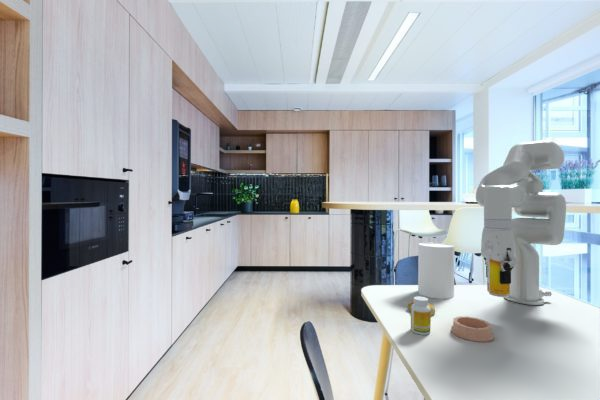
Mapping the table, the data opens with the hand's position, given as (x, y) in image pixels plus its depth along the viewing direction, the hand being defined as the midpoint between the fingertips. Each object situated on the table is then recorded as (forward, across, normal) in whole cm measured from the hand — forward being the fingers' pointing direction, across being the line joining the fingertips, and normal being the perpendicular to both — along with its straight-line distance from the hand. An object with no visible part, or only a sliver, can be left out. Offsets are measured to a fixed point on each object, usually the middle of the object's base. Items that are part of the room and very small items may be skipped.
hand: (498, 279), depth 101 cm
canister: (+14, -28, -7) cm, 32 cm away
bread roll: (+12, -7, -22) cm, 26 cm away
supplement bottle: (+11, +9, -29) cm, 33 cm away
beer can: (+5, 0, 0) cm, 5 cm away
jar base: (+12, +11, -15) cm, 22 cm away
